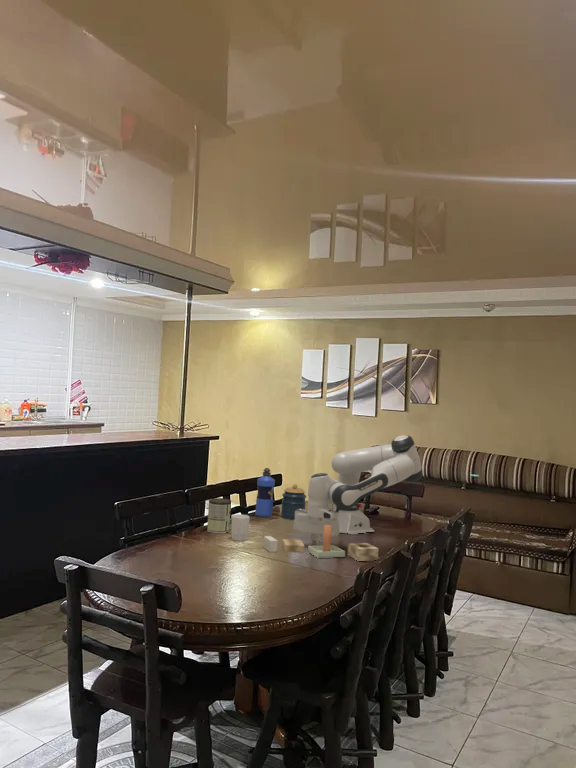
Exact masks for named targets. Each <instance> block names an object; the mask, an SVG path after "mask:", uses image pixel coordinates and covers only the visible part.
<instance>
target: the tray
mask: <svg viewBox="0 0 576 768" xmlns="http://www.w3.org/2000/svg"><path fill="white" fill-rule="evenodd" d="M322 551H323V545H308V546H307V553H308V552H309V553H308V554H310V553H311V554H312V555H311V554H310V555H311V556H313V555H314V556H313V557H314V558H316V557H317V558H316V559H318V558H324V559H334V558H333V557H346V550H343V549H342V548H340V547H338V546H336V545H334V544H331V549H330V552H322Z"/></svg>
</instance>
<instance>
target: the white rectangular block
mask: <svg viewBox="0 0 576 768" xmlns="http://www.w3.org/2000/svg"><path fill="white" fill-rule="evenodd" d="M262 540H263V543H262V547H263V548H264V549H265V550H267V552H269V553H277V552H278V540H277V539H276V538H275V537H272V536H271V535H264V536H263V539H262Z"/></svg>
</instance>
